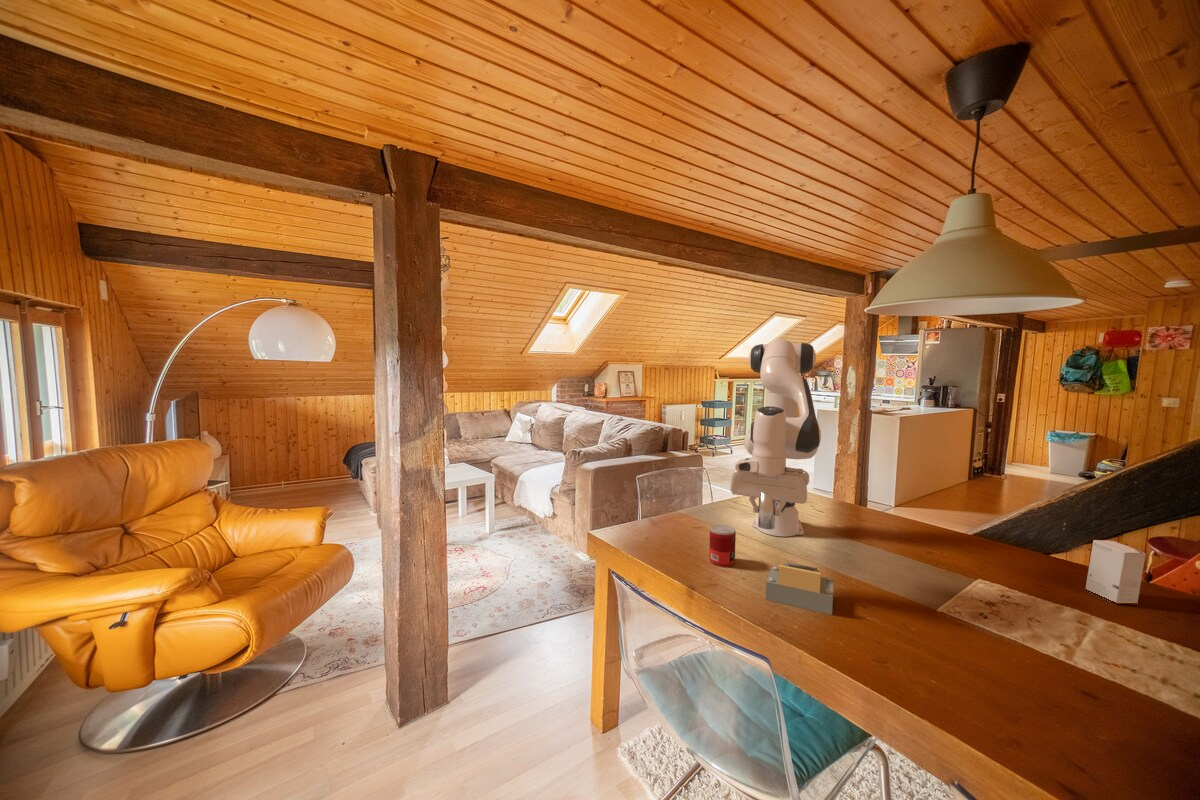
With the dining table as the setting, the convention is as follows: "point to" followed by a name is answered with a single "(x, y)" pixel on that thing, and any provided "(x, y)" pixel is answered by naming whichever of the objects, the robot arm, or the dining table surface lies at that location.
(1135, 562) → the skincare box
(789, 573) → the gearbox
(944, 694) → the dining table surface
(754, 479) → the robot arm
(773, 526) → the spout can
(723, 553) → the canned food
